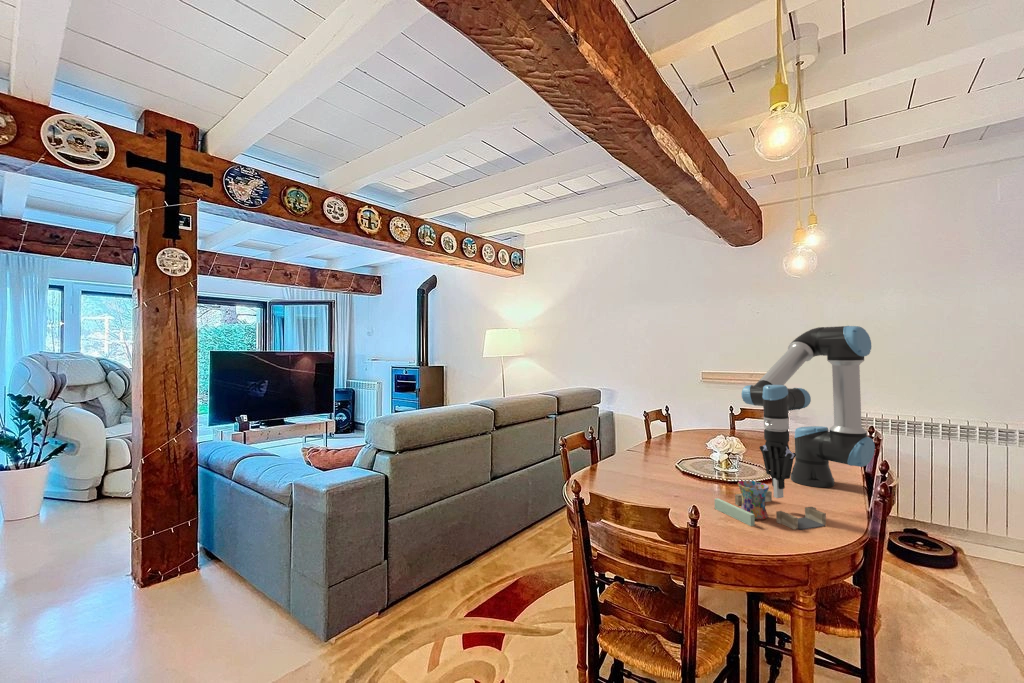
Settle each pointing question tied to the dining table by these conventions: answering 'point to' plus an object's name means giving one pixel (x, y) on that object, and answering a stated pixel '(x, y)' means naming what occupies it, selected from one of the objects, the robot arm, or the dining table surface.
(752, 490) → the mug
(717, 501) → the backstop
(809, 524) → the plate
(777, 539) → the dining table surface
